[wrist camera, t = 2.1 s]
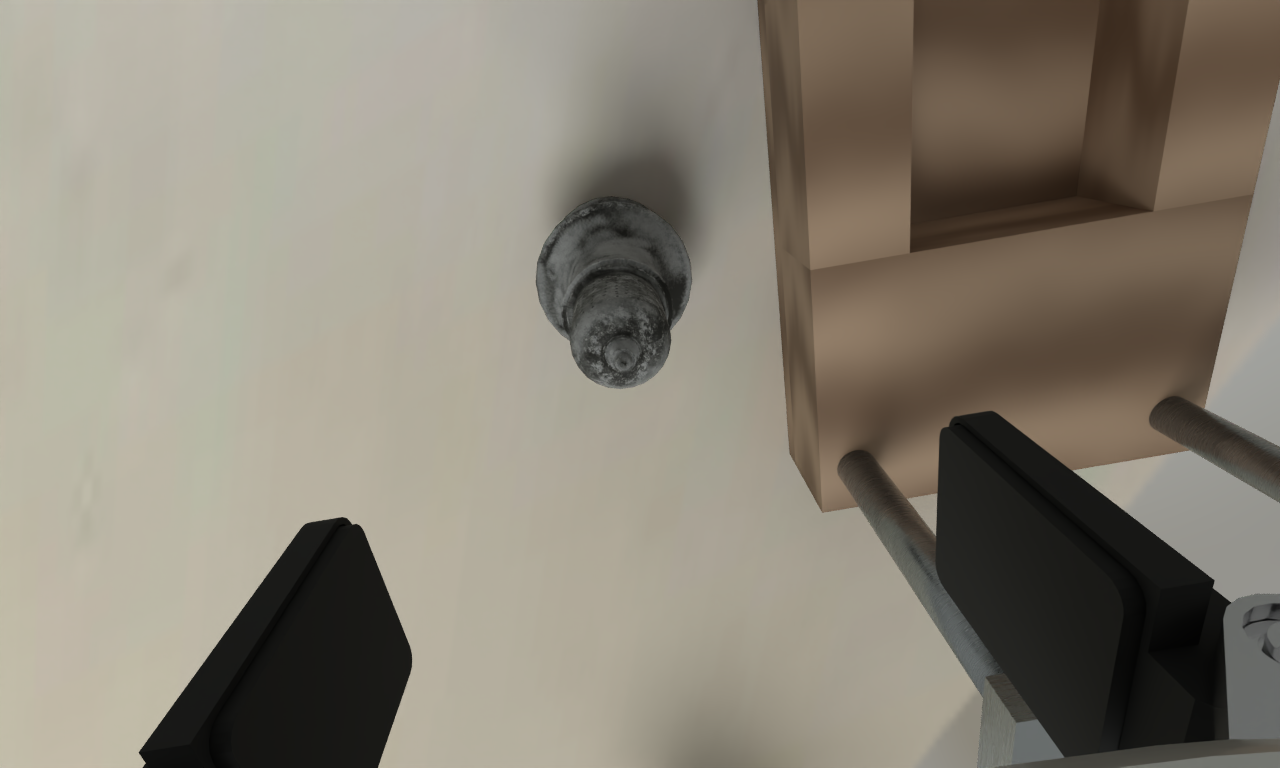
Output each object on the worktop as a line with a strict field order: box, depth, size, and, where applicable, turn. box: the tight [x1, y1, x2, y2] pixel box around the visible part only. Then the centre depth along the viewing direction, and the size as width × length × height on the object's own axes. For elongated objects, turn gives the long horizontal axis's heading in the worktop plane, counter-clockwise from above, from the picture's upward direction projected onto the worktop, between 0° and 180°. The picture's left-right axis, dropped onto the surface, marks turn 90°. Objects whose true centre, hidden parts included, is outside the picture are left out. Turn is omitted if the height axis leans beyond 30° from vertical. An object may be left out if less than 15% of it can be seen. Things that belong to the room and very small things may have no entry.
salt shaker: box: [536, 197, 692, 389], centre depth 22 cm, size 6×6×12 cm
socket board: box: [757, 0, 1280, 513], centre depth 25 cm, size 24×16×5 cm, turn 9°
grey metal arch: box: [837, 396, 1280, 768], centre depth 20 cm, size 4×16×13 cm, turn 99°
